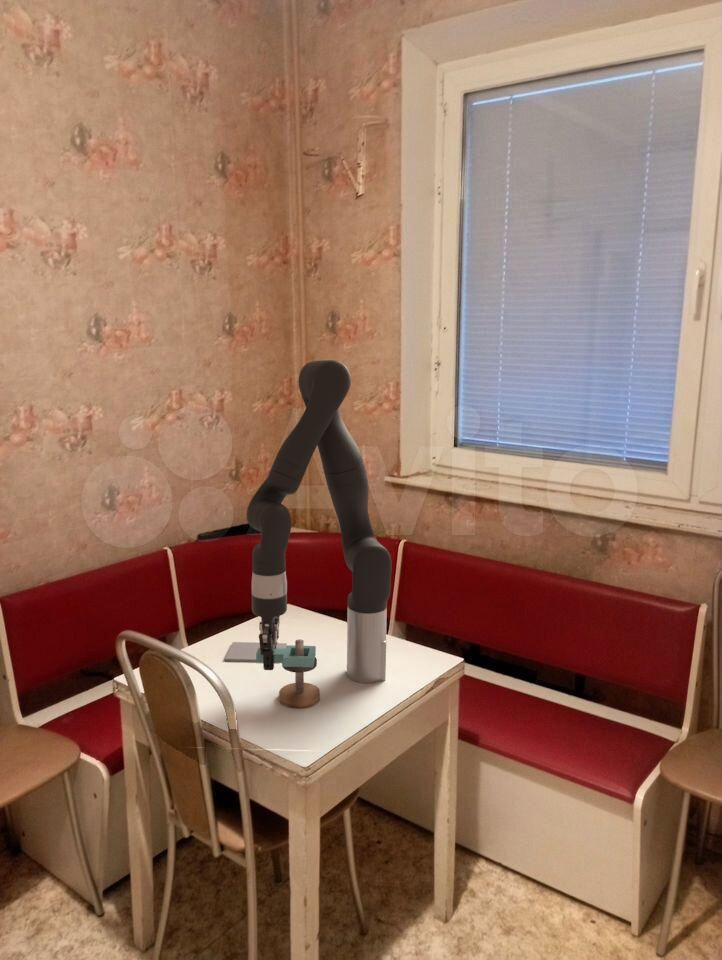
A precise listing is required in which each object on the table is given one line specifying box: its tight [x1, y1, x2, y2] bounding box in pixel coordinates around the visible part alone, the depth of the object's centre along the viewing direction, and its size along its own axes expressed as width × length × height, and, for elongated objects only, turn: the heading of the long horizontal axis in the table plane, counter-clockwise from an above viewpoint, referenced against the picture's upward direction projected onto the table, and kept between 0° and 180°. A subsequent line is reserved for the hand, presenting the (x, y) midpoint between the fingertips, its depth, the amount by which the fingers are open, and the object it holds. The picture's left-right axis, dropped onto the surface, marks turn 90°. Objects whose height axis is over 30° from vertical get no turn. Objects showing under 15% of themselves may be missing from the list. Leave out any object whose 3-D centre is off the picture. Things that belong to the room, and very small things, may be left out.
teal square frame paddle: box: [255, 644, 317, 668], centre depth 155 cm, size 12×6×2 cm, turn 88°
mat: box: [224, 641, 288, 663], centre depth 179 cm, size 14×10×1 cm
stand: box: [278, 639, 321, 710], centre depth 155 cm, size 9×9×14 cm
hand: (270, 665), depth 155 cm, fingers closed on teal square frame paddle, 3 cm apart
